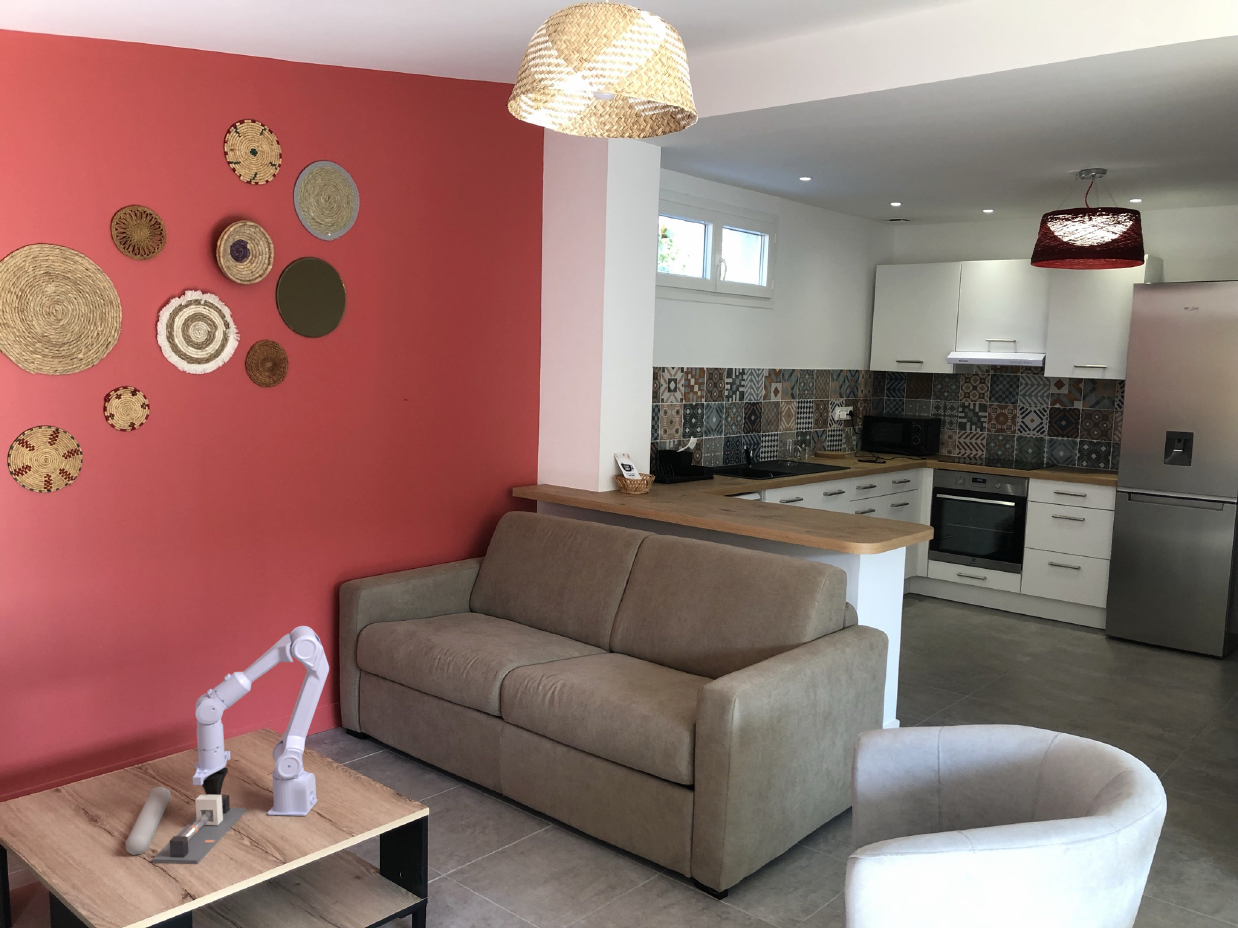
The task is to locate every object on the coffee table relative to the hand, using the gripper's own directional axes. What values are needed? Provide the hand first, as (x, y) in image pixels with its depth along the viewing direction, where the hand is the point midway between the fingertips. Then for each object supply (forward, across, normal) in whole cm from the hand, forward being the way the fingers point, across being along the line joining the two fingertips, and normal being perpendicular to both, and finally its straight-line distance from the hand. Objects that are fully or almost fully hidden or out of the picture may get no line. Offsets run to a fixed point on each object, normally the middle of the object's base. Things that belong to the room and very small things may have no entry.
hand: (214, 800), depth 228 cm
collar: (+4, +2, 0) cm, 5 cm away
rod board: (+5, +7, 0) cm, 8 cm away
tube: (+6, +5, -14) cm, 15 cm away
